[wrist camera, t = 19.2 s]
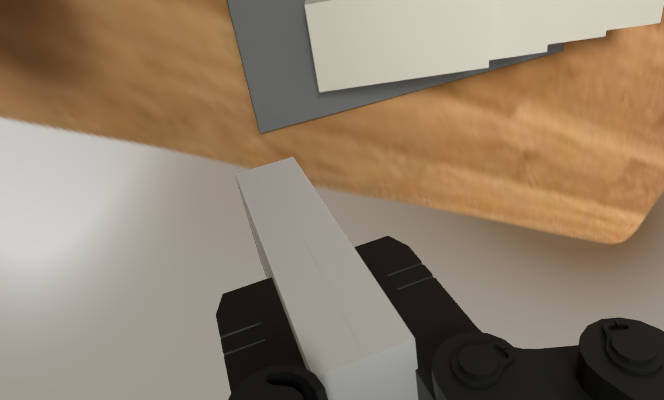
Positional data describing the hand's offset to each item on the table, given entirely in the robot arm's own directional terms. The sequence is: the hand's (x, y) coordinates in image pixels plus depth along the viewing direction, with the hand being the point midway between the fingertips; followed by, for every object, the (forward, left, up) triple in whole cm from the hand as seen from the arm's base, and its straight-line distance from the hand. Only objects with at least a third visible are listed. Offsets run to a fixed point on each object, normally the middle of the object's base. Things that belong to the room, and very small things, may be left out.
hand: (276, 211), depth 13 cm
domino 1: (+6, +6, -23) cm, 24 cm away
